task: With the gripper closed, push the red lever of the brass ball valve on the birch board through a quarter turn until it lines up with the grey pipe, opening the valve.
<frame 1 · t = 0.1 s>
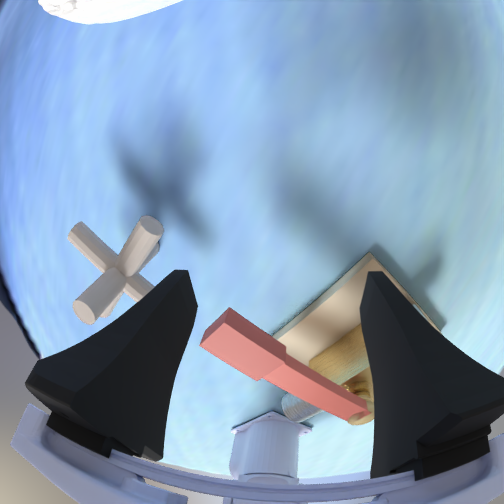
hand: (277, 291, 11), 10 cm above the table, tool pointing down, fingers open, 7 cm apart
ball valve: (349, 348, 25), resting on mounting board
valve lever: (307, 385, 17), point 8 cm above the table, hinge at 90.0°
mounting board: (349, 348, 25), on the table
pipe connector: (151, 245, 23), on the table
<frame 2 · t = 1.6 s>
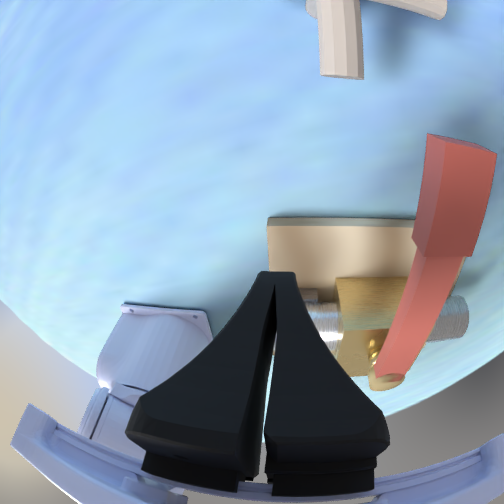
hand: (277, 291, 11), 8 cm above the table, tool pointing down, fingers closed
ball valve: (366, 294, 21), resting on mounting board
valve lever: (421, 305, 11), point 8 cm above the table, hinge at 90.0°
mounting board: (366, 294, 21), on the table
pipe connector: (320, 8, 10), on the table
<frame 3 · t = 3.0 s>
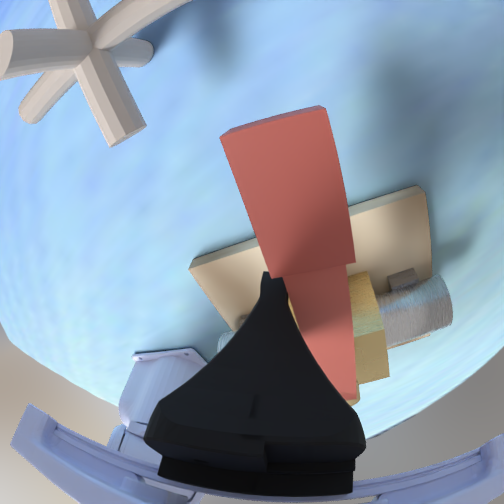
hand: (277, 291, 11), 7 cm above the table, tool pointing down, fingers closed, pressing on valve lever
ball valve: (330, 300, 20), resting on mounting board
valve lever: (326, 324, 10), point 8 cm above the table, hinge at 83.0°, touching gripper
mounting board: (330, 300, 20), on the table
pipe connector: (141, 53, 12), on the table
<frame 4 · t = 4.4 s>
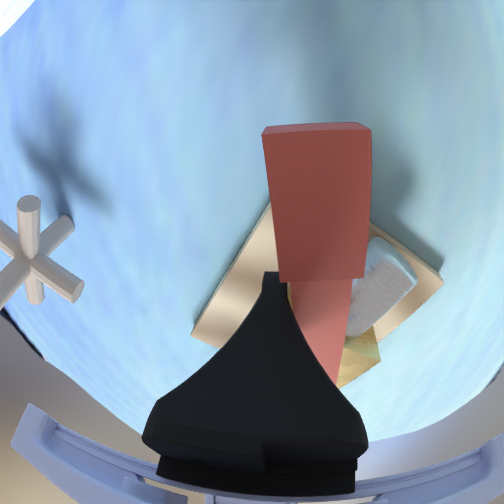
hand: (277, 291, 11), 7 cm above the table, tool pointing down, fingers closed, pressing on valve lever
ball valve: (311, 305, 21), resting on mounting board
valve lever: (318, 332, 10), point 8 cm above the table, hinge at 35.7°, touching gripper
mounting board: (311, 305, 21), on the table
pipe connector: (68, 223, 19), on the table
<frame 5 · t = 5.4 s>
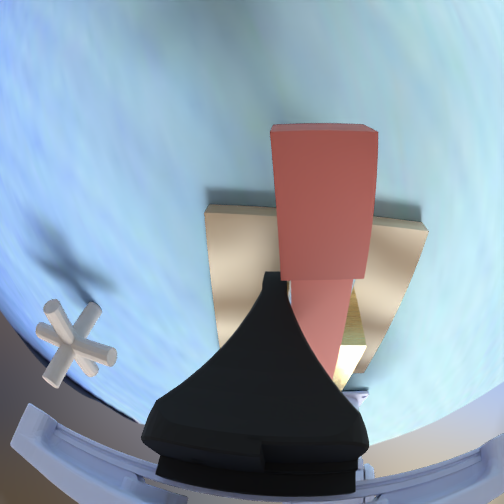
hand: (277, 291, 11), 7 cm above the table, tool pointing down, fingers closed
ball valve: (307, 305, 21), resting on mounting board
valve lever: (316, 331, 10), point 8 cm above the table, hinge at 6.3°, touching gripper
mounting board: (307, 305, 21), on the table
pipe connector: (95, 306, 25), on the table
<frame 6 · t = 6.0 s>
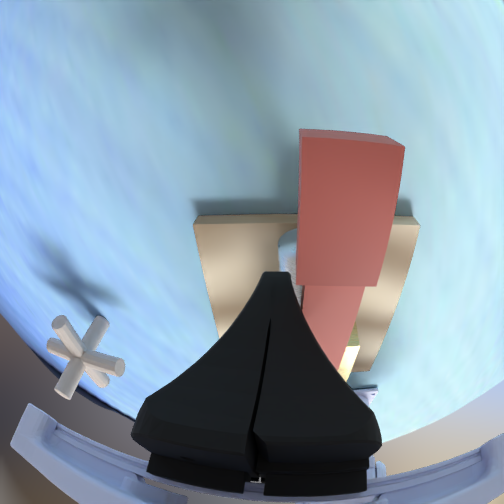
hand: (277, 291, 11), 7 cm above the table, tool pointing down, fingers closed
ball valve: (305, 307, 21), resting on mounting board
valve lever: (322, 335, 11), point 8 cm above the table, hinge at -1.9°, touching gripper
mounting board: (305, 307, 21), on the table
pipe connector: (103, 320, 26), on the table
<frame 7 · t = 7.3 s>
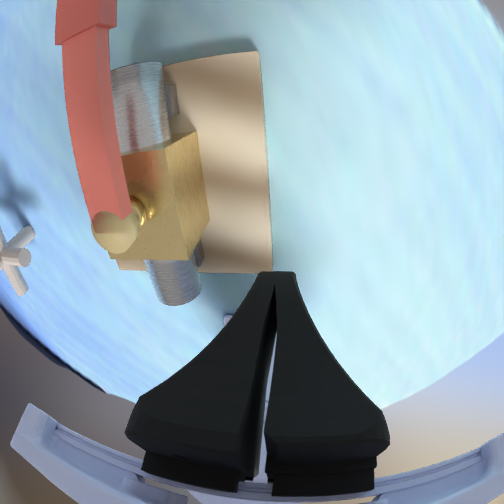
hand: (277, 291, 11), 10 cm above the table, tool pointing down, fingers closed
ball valve: (172, 174, 19), resting on mounting board
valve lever: (88, 99, 9), point 8 cm above the table, hinge at -2.3°
mounting board: (172, 174, 19), on the table
pipe connector: (31, 230, 24), on the table
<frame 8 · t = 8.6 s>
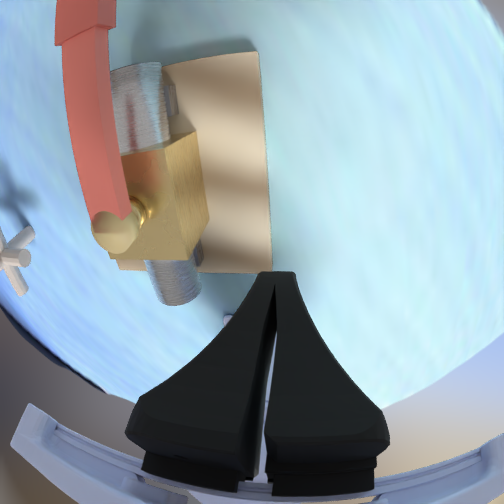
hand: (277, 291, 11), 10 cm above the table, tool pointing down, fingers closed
ball valve: (171, 175, 19), resting on mounting board
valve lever: (88, 99, 9), point 8 cm above the table, hinge at -2.3°
mounting board: (171, 175, 19), on the table
pipe connector: (31, 231, 24), on the table
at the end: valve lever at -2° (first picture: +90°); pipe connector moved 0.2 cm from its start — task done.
